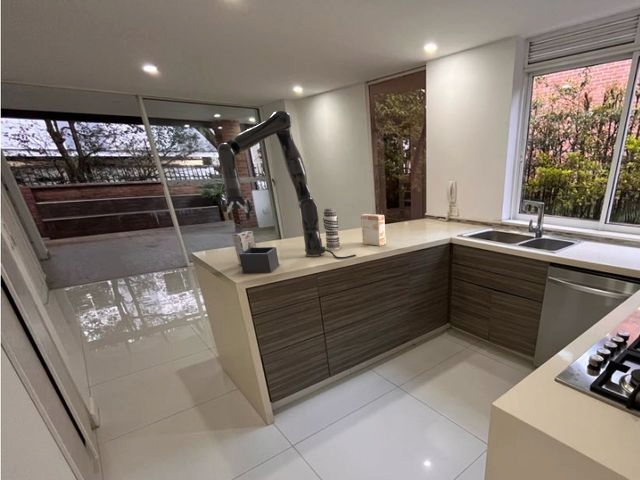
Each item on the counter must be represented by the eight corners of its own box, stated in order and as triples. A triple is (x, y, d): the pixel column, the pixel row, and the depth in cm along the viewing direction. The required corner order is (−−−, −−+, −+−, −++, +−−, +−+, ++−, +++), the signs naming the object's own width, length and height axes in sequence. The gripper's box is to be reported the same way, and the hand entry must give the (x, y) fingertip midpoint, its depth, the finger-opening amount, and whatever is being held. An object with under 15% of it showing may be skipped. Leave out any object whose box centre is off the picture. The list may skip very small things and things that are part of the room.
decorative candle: (330, 246, 225) (326, 207, 214) (343, 247, 222) (339, 207, 212) (323, 249, 217) (318, 209, 206) (336, 250, 214) (332, 209, 204)
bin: (279, 264, 184) (276, 246, 180) (271, 272, 171) (267, 253, 167) (253, 265, 183) (249, 247, 179) (243, 273, 170) (238, 254, 166)
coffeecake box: (385, 244, 231) (384, 214, 223) (379, 246, 225) (377, 216, 217) (369, 241, 238) (367, 213, 230) (362, 243, 233) (360, 214, 225)
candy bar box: (251, 259, 193) (245, 230, 186) (259, 260, 192) (253, 231, 185) (238, 265, 183) (231, 234, 176) (246, 265, 182) (239, 235, 175)
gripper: (250, 186, 176) (256, 218, 182) (221, 186, 174) (229, 219, 181) (245, 187, 169) (251, 221, 175) (215, 187, 167) (223, 221, 174)
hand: (240, 220), depth 178 cm, fingers open, 8 cm apart
